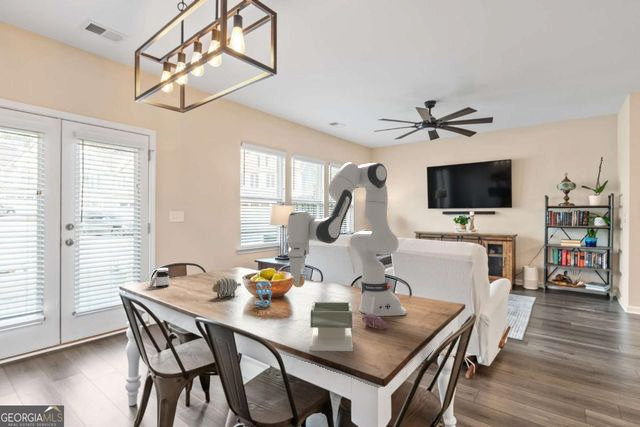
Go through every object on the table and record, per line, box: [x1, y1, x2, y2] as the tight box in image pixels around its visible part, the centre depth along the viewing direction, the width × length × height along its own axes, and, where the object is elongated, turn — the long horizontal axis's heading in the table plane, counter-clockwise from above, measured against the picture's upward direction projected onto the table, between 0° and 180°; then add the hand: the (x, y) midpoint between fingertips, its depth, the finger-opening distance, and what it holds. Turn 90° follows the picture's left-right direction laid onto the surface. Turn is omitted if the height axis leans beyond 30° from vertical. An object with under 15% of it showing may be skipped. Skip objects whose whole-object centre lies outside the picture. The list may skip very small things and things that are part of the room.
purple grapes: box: [361, 314, 388, 330], centre depth 138 cm, size 10×5×7 cm, turn 46°
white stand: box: [309, 328, 354, 352], centre depth 131 cm, size 32×15×8 cm, turn 177°
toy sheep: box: [212, 276, 242, 299], centre depth 190 cm, size 11×17×11 cm, turn 133°
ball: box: [291, 275, 305, 288], centre depth 136 cm, size 5×5×5 cm
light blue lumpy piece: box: [253, 280, 273, 308], centre depth 173 cm, size 8×8×12 cm
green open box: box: [310, 301, 353, 329], centre depth 130 cm, size 30×15×6 cm, turn 177°
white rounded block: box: [149, 267, 170, 289], centre depth 216 cm, size 12×11×12 cm
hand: (298, 283), depth 136 cm, fingers closed on ball, 5 cm apart
